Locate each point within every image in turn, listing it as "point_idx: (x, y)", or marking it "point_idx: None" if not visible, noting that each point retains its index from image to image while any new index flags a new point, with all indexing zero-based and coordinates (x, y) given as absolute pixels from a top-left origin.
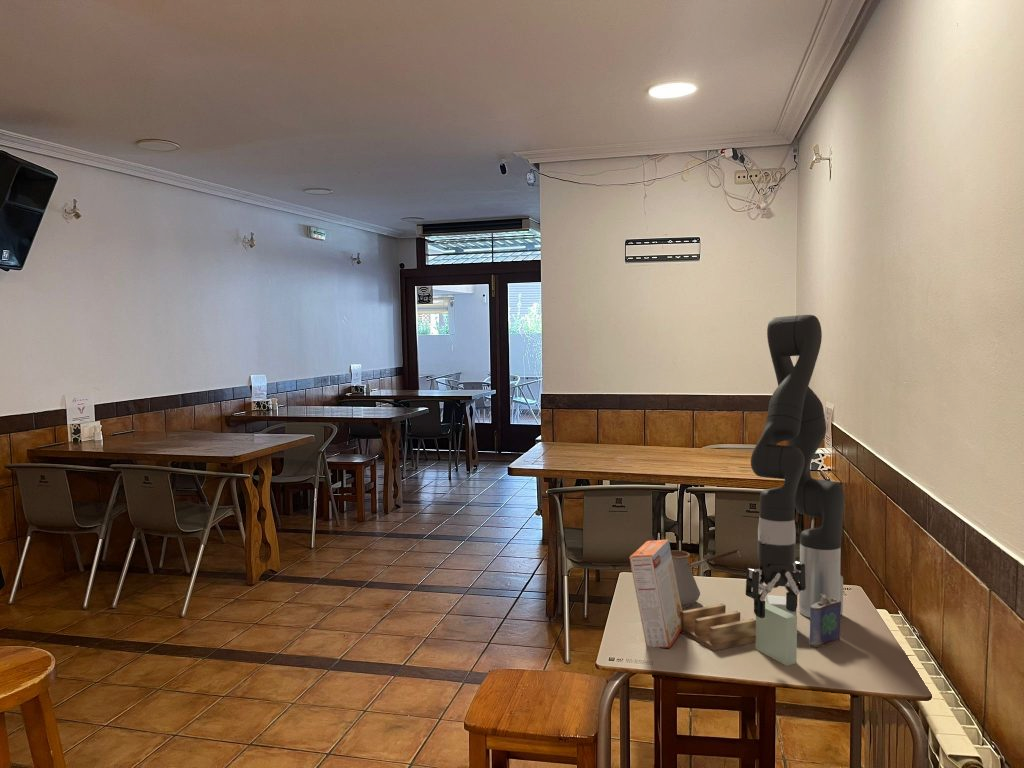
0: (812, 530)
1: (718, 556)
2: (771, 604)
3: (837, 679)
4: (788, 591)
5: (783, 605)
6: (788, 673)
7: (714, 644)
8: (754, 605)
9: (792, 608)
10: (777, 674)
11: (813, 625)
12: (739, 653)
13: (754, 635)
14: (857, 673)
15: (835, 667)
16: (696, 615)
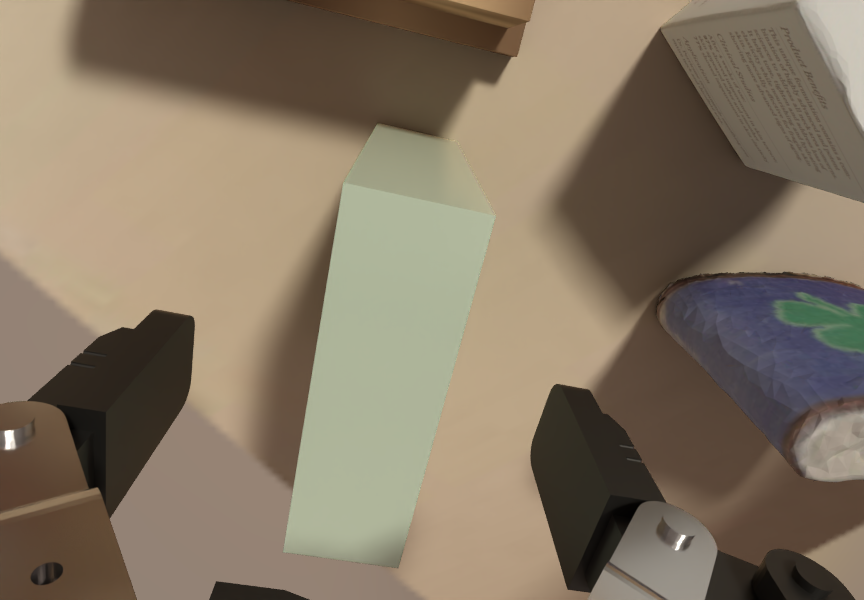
0: None
1: None
2: (804, 27)
3: None
4: (617, 532)
5: (853, 124)
6: (272, 401)
7: None
8: (59, 381)
9: (538, 464)
10: (217, 379)
11: (716, 372)
12: (235, 100)
13: (493, 24)
14: (522, 544)
15: (507, 476)
16: None
